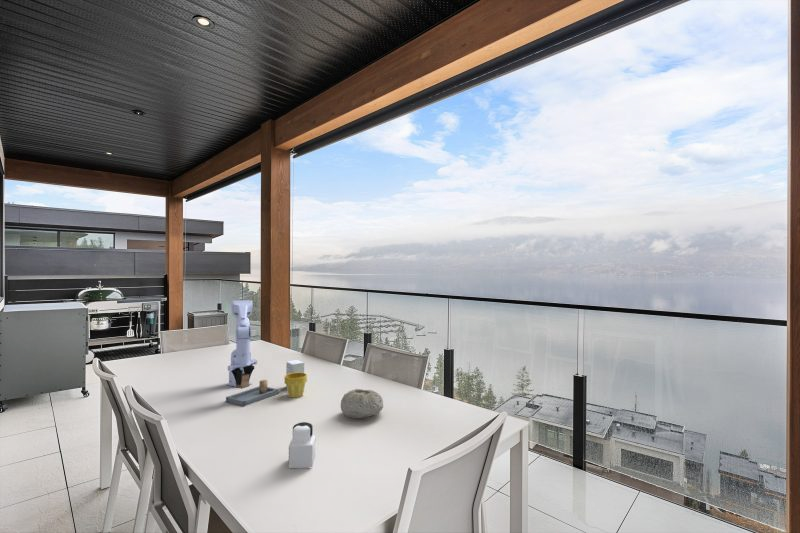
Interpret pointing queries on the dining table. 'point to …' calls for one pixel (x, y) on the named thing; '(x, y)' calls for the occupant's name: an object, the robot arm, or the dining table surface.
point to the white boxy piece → (302, 446)
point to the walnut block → (244, 381)
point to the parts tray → (251, 396)
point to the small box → (294, 367)
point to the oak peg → (263, 387)
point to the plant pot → (295, 384)
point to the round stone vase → (361, 403)
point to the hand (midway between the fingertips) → (242, 383)
